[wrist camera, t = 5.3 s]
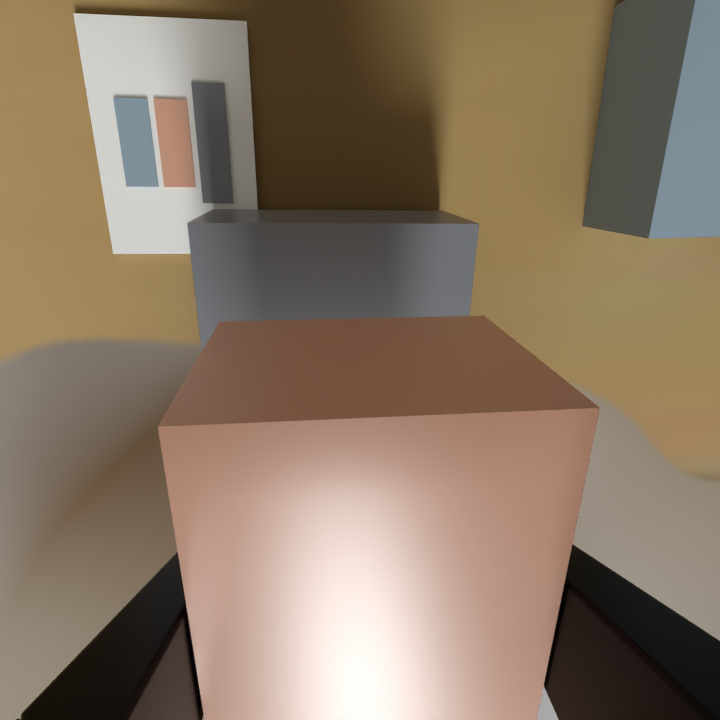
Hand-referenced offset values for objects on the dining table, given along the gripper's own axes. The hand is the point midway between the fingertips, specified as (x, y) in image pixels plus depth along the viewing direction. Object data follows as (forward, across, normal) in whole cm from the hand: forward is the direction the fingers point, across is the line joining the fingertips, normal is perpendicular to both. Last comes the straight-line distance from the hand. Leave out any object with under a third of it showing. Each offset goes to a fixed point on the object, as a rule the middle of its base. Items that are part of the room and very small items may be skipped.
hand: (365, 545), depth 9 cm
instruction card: (+11, +5, -7) cm, 14 cm away
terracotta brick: (+2, 0, 0) cm, 2 cm away
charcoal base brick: (+11, 0, 0) cm, 11 cm away
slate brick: (+12, -12, -8) cm, 18 cm away
